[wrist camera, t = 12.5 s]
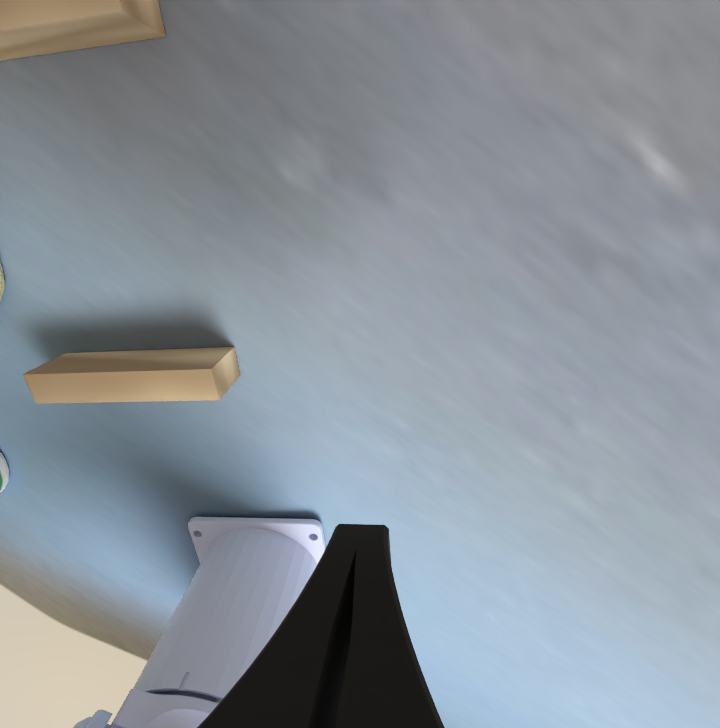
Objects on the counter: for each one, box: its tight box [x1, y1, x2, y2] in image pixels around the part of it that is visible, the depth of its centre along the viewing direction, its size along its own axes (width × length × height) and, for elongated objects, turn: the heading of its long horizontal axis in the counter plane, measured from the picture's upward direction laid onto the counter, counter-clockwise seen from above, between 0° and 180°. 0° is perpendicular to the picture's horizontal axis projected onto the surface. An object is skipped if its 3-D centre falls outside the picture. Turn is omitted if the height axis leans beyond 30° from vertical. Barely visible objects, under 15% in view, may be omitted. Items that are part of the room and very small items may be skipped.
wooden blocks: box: [0, 0, 240, 404], centre depth 17 cm, size 15×9×2 cm, turn 5°
